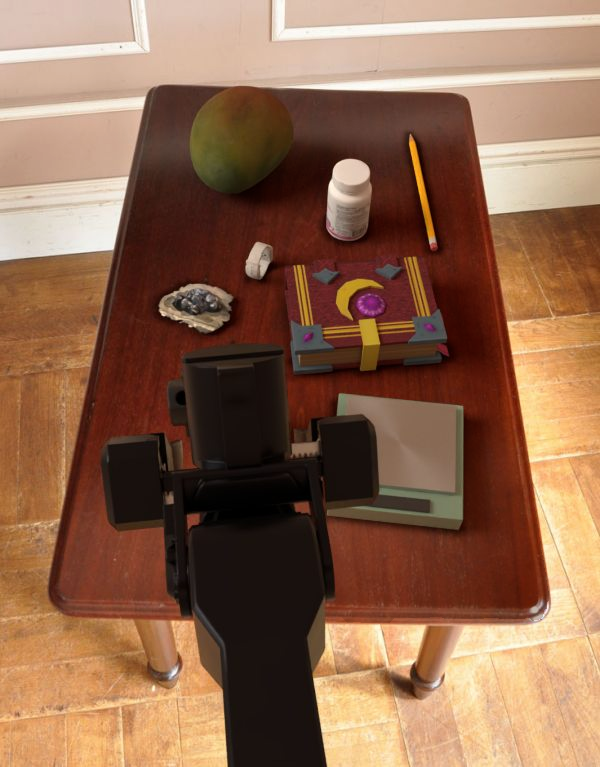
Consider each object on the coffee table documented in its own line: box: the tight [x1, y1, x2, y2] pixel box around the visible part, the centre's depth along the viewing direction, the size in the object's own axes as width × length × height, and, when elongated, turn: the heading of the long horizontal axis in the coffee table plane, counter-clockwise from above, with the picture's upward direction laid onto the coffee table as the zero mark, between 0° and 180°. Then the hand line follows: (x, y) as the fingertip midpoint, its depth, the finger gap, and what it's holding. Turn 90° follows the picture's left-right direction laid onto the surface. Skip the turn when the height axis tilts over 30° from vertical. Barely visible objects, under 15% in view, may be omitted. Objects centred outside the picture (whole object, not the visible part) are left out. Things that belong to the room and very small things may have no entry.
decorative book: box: [284, 253, 450, 376], centre depth 88 cm, size 11×16×5 cm
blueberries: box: [157, 283, 235, 334], centre depth 90 cm, size 7×8×2 cm
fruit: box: [189, 85, 295, 195], centre depth 98 cm, size 12×13×10 cm
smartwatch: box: [245, 241, 274, 281], centre depth 92 cm, size 4×2×4 cm, turn 158°
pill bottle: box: [325, 158, 373, 242], centre depth 94 cm, size 5×5×8 cm
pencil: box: [408, 133, 439, 252], centre depth 101 cm, size 1×19×1 cm, turn 4°
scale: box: [326, 392, 464, 531], centre depth 80 cm, size 12×12×3 cm
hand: (238, 440), depth 68 cm, fingers open, 9 cm apart
